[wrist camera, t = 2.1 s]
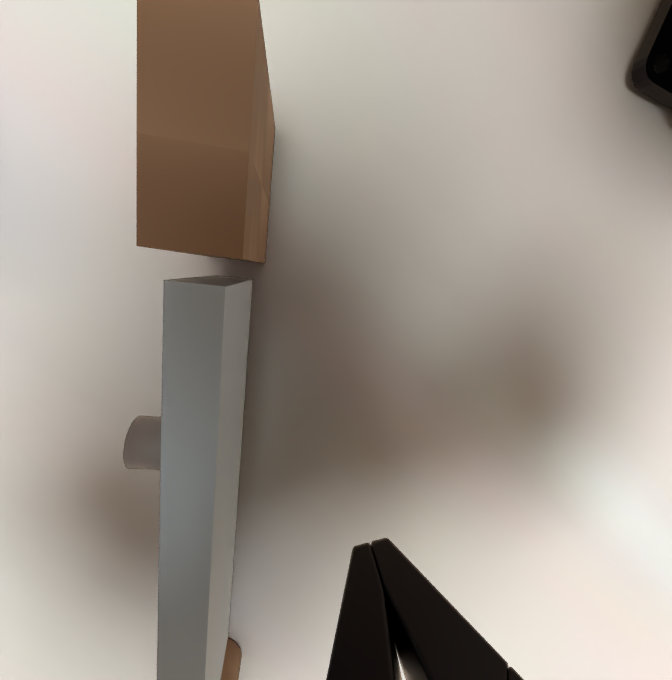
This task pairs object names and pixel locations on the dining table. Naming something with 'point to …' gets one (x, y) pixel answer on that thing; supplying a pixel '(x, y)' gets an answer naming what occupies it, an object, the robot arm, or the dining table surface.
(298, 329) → the dining table surface
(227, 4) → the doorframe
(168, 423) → the door
